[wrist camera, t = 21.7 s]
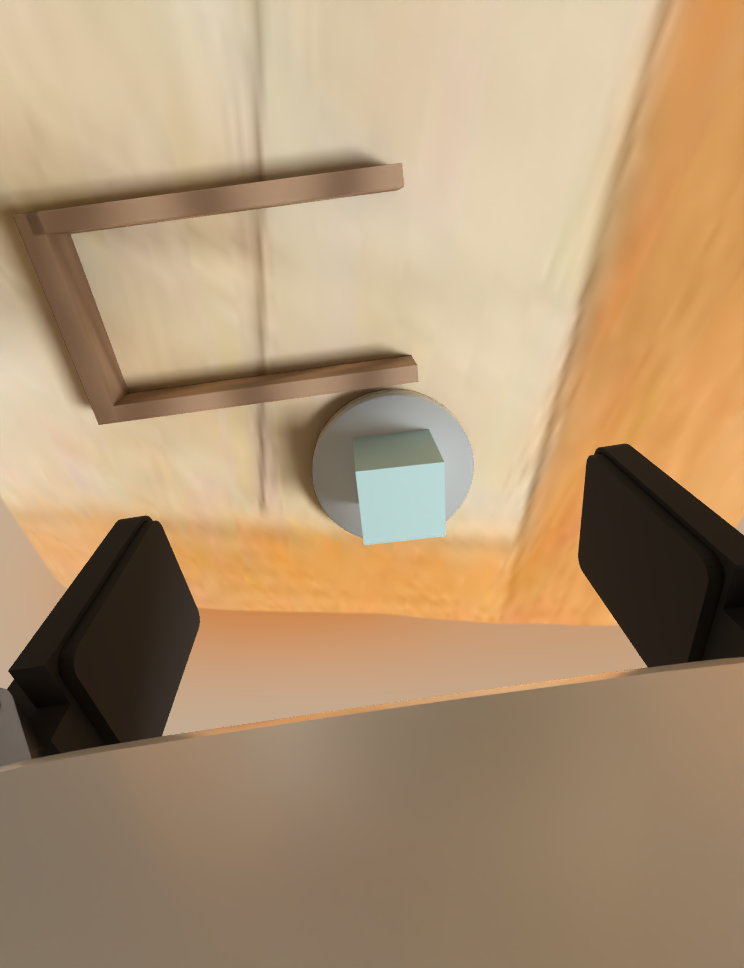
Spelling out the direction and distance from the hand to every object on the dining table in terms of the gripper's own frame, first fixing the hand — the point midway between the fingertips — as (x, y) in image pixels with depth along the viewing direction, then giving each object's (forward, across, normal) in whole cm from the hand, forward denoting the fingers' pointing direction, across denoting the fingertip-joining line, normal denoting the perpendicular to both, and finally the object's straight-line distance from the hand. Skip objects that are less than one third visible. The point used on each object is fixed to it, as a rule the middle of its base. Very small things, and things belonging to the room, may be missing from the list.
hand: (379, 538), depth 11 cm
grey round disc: (+22, -1, +9) cm, 23 cm away
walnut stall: (+22, +6, -3) cm, 23 cm away
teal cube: (+20, -1, +9) cm, 22 cm away
